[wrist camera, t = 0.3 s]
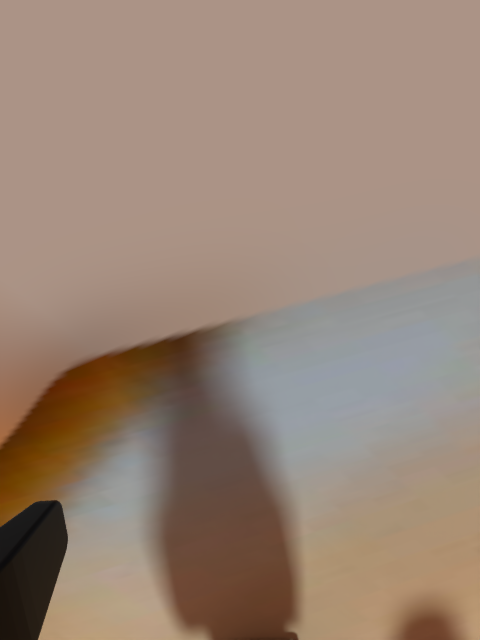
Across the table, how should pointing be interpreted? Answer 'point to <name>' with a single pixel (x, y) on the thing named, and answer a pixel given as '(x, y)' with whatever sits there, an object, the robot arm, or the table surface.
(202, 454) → the table surface
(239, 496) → the table surface
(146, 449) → the table surface
